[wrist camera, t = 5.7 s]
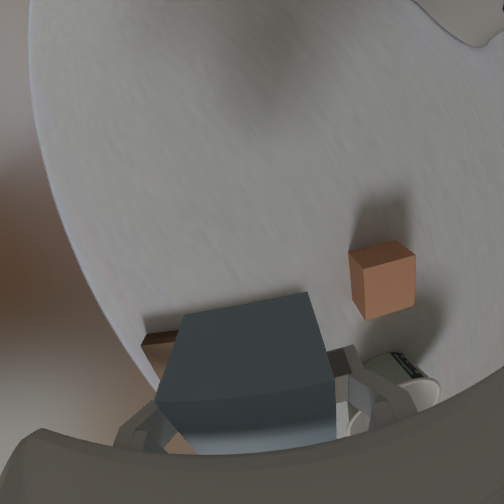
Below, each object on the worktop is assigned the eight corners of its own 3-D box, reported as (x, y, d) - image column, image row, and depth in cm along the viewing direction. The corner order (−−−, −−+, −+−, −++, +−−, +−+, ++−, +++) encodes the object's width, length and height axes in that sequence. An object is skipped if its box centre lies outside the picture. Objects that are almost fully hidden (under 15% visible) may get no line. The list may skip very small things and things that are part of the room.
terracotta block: (347, 251, 24) (363, 269, 20) (394, 240, 23) (415, 254, 19) (351, 298, 25) (365, 320, 21) (396, 286, 25) (414, 305, 21)
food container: (346, 348, 27) (363, 390, 21) (431, 337, 27) (456, 369, 21) (327, 412, 31) (336, 450, 25) (402, 400, 31) (417, 431, 25)
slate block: (184, 315, 12) (154, 401, 7) (307, 291, 11) (335, 380, 7) (220, 391, 14) (211, 467, 9) (318, 375, 13) (336, 453, 9)
